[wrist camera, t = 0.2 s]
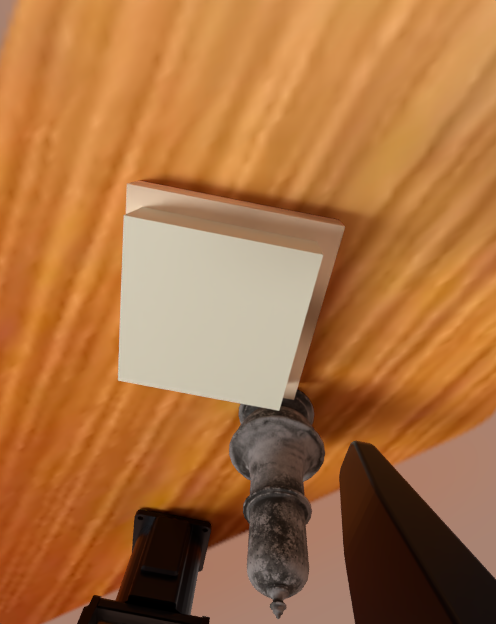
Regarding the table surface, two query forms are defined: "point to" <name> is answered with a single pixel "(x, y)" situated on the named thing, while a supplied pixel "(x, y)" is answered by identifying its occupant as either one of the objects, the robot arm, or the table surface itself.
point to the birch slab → (257, 218)
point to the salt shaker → (277, 492)
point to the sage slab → (212, 306)
